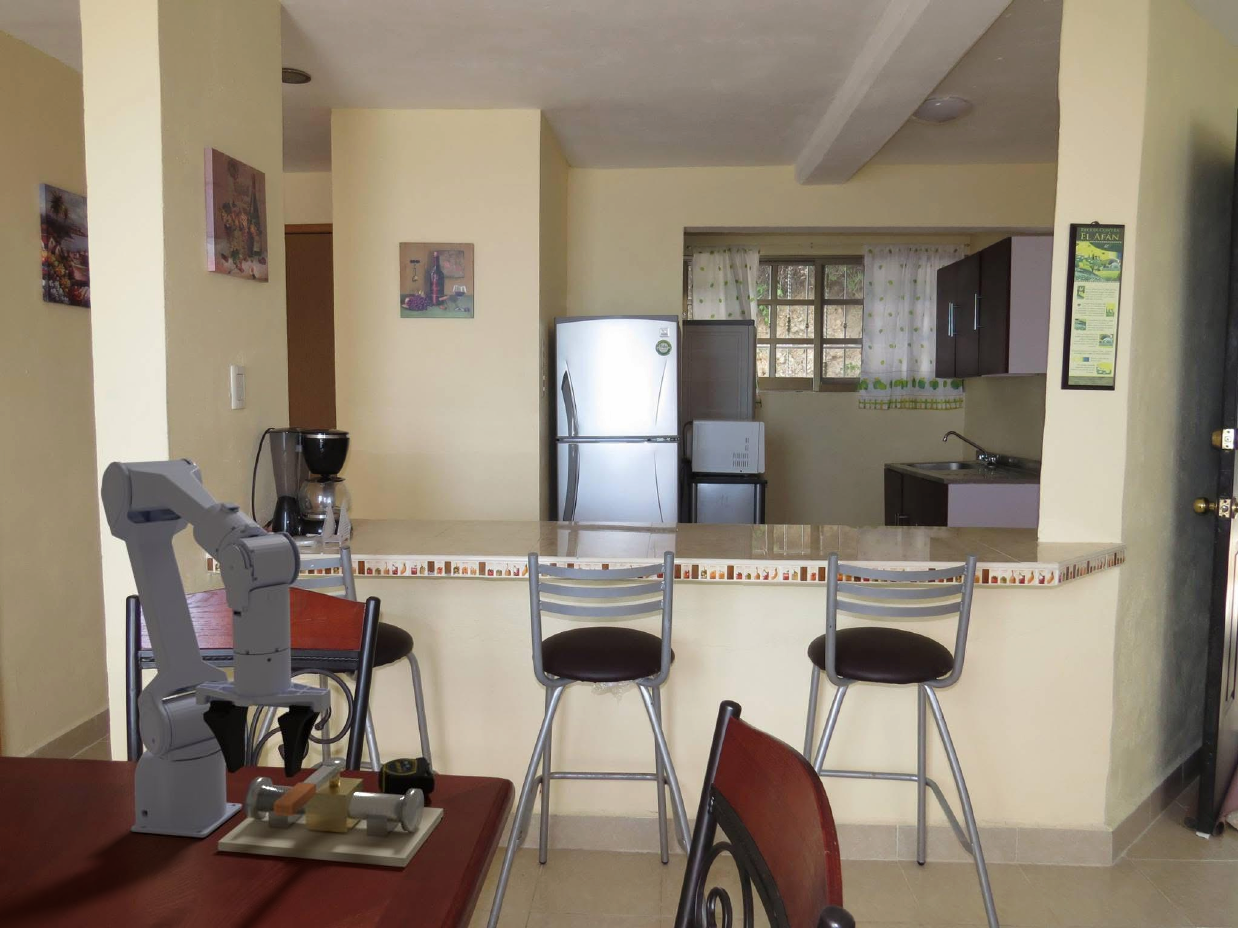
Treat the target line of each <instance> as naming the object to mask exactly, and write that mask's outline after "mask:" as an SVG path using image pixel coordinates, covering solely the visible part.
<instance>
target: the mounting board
mask: <svg viewBox="0 0 1238 928" xmlns="http://www.w3.org/2000/svg"><path fill="white" fill-rule="evenodd" d="M442 817H443V818H444V808H439V807H425V806H424V810H423V816H422V820H421V823H420V825H419V827H418V829H417V830H416V831H415V832H410V831H404V830H403V829H402V826H401V823H399V824H398V825H397V826H396V827H395V829H394V830H393V831H392V832H391V833H390V834H389V836H388V837H387V838H384V837H373V836H367V820H358V822H357V823H356V824H355V825H354V826H353V827H352V828H351V829H350V830H349V831H348V832H347V833H345V832H333V831H321V830H309V829H306V815H303V816H302V817H301V818H300V819H299V820H298V821H297V822H296V823H294V824H293V825H292V826H291V827H290V828H289V829H278V828H269V820H268V812H267V814H266V815H265V816H264V817H263V818H261V819H253V818H249V817H247V818H245V819H244V820H243V821H242V822H240V823H239V824H238V825H237V826H235V827H234V828H233V829H232V830H230V831H229V832H228V833H227V834H225V835H224V836H223V837H222V838H221V839H220V840H218V841H217V848H218V849H217V850H218V851H219V852H220V851H221V852H222V851H223V852H232V853H233V852H235V853H243V854H253V855H254V854H255V855H256V854H257V855H266V856H277V857H288V858H300V859H312V860H323V861H333V862H342V863H343V862H345V863H355V864H369V865H377V866H378V865H379V866H388V867H389V866H391V867H398V868H399V867H400V868H402V867H403V868H406V866H407V865H408V864H409V863H410V861H411V860H412V859H413V857H414V856H415V855H416V854H417V852H418V851H419V849H420V848H422V846H423V844H424V843H425V842H426V840H427V839H428V838H429V836H430V835H431V833H432V832H433V831H434V830H435V829H436V828H437V826H438V825H439V823H440V822H441V820H442V819H443V818H442ZM441 818H442V819H441Z"/></svg>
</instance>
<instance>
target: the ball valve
mask: <svg viewBox="0 0 1238 928" xmlns="http://www.w3.org/2000/svg"><path fill="white" fill-rule="evenodd" d="M293 787H294V786H288V785H278V784H277V785H275V784H273V781H272V779H271V778H270V777H266V776H264V777H263V776H257V777H255V778H254V779H252V780H251V782H250V783H249V785H248V788H247V789H246V793H245V796H244V803H243V805H244V807H243V809H244V812H245V816H246V817H247V818H248V817H249V818H253V819H261V818H263V817H264V816H265V815H266V814H267V812H268V820H269V828H278V829H289V828H290V827H291V826H292V825H293V824H294V823H296V822H297V821H298V820H299V819H300V818H301V817H302V816H303V815H306V829H309V830H321V831H333V832H345V833H347V832H348V831H349V830H350V829H351V828H352V827H353V826H354V825H355V824H356V823H357V822H358V820H367V836H373V837H384V838H387V837H388V836H389V834H390V833H391V832H392V831H393V830H394V829H395V827H396V826H397V825H398V824H399V823H401V826H402V829H403V830H404V831H410V832H415V831H416V830H417V829H418V827H419V825H420V823H421V820H422V816H423V810H424V807H425V795H423V792H422V790H421V789H412V788H411V789H409V790H408V791H407V793H406V795H394V794H382V793H381V792H380V793H378V792H367V791H364V778H353V777H352V778H351V777H341V772H340V773H336V774H335V775H334V776H332V777H331V778H330V779H329V780H328V781H327V782H326V783H325V784H323V785H322V786H321V787H320V788H319V789H318V790H317V791H316V795H315V796H314V797H313V798H311V799H310V800H309V801H308V802H307V803H306V804H305V805H304V806H302V807H301V808H300V809H299V810H298V811H297V812H296V813H295V814H293V815H292V816H287V815H275V814H274V803H275V802H276V801H277V800H278V799H279V798H281V797H282V796H283V795H284V794H285V793H287V792H288V791H289V790H290V789H291V788H293Z"/></svg>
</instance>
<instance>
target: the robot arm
mask: <svg viewBox="0 0 1238 928" xmlns="http://www.w3.org/2000/svg"><path fill="white" fill-rule="evenodd" d="M201 471H202V470H201V468H200V466H198V465H197V464H196V463H195V462H194V461H193V460H192V459H191V458H181V459H176V460H175V459H173V460H154V461H153V460H152V461H151V460H150V461H133V462H132V461H131V462H121V461H111V462H110V463H109V464H108V465H107V467H106V468H105V470H104V472H103V474H102V479H101V489H100V497H101V500H102V501H101V502H102V505H103V509H104V513H105V517H106V518H105V519H106V521H107V525H108V527H109V530H110V534H111V536H112V537H115V538H117V539H119V540H121V541H124V543H125V548H126V552H127V555H128V559H129V562H130V567H131V571H132V575H133V579H134V582H135V586H136V590H137V595H138V599H139V603H140V607H141V611H142V614H143V615H142V616H143V618H144V619H143V620H144V624H145V626H146V627H145V628H146V630H147V635H148V639H149V644H150V647H151V651H152V652H151V653H152V655H153V659H154V664H155V666H156V671H157V673H156V675H155V676H154V677H153V678H152V679H151V681H149V683H148V684H147V685H146V686H145V687H144V688H143V689H142V691H141V692H140V694H139V697H138V698H137V706H138V712H139V721H138V725H139V728H138V729H139V734H140V738H141V741H142V744H143V745H144V747H145V751H144V752H143V753H142V755H141V756H140V758H139V759H138V762H137V764H136V767H135V771H134V801H135V804H134V805H135V807H134V809H135V810H134V811H135V824H134V825H132V826H131V827H130V828H131V829H130V830H131V832H136V833H144V834H145V833H148V834H158V835H169V836H182V837H194V838H205V837H207V836H208V835H210V834H211V833H213V832H214V830H216V829H217V828H218V827H220V826H221V825H222V824H224V823H225V822H226V821H228V820H229V819H230V818H231V817H233V816H234V815H235V814H236V813H238V812H239V811H240V810H241V809H242V808H243V804H242V803H236V802H234V803H232V802H227V776H226V775H227V774H226V773H228V774H235V773H236V772H237V771H239V770H240V769H242V768H244V767H245V764H246V763H245V762H246V728H247V727H246V726H247V725H246V724H247V719H248V713H249V708H250V707H253V706H255V707H267V708H268V707H270V708H283V709H284V708H286V709H288V711H286V712H284V713H283V714H281V715H280V716H278V717H277V725H278V727H279V730H280V734H281V737H282V746H283V752H284V754H283V760H284V761H283V764H284V765H283V767H284V770H283V771H284V775H285V778H293V777H295V776H296V775H297V774H298V773H300V772H301V771H302V766H303V760H304V756H305V751H306V748H307V745H308V742H309V738H310V735H311V733H312V731H313V729H314V726H315V724H316V722H317V720H318V719H319V716H320V714H321V713H323V712H325V711H326V710H328V709H329V708H330V707H331V706H332V702H331V700H332V695H331V691H332V690H331V688H322V687H316V686H312V685H307V684H303V683H299V682H294V681H292V667H291V666H292V662H291V661H292V659H291V653H292V652H291V651H292V650H291V644H292V643H291V607H290V606H291V604H290V603H291V600H290V598H291V596H290V592H291V591H290V590H291V589H290V585H293V584H294V583H296V581H297V580H298V578H299V575H300V572H301V565H302V564H301V561H302V560H301V555H300V549H299V547H298V545H297V542H296V540H294V539H293V537H292V536H291V535H290V534H289V532H286V531H278V532H274V531H269V532H268V531H266V530H265V529H264V528H263V527H262V526H261V525H259V523H257V522H256V521H255V520H253V519H252V518H251V517H250V516H249V515H248V514H247V513H246V512H244V511H243V510H242V509H241V508H240V506H239V504H238V503H236V502H235V501H232V502H218V501H217V500H216V499H215V498H214V496H213V495H212V494H211V492H209V491H208V489H206V487H205V486H204V483H203V477H202V475H203V474H202V472H201ZM189 524H190V525H191V526H192V534H193V535H192V536H193V539H194V541H195V542H196V544H198V546H200V547H201V549H203V550H204V551H205V552H206V553H207V554H208V556H210V557H211V558H212V559H213V560H214V561H215V562H216V563H217V564H218V565H219V574H220V578H221V581H222V583H223V585H224V589H225V597H226V598H225V601H226V602H225V603H227V607H228V608H229V609H231V611H232V612H231V613H232V618H231V619H232V621H231V622H232V653H233V655H232V656H233V657H232V658H233V659H232V661H233V662H232V663H233V681H232V680H231V681H230V680H229V677H228V675H227V672H226V671H225V670H224V669H222V668H219V667H217V666H215V665H212V664H210V663H209V662H207V661H205V660H203V658H202V657H203V656H202V653H201V650H200V649H201V648H200V645H199V641H198V638H197V633H196V631H195V625H194V622H193V619H192V614H191V611H190V607H189V604H188V599H187V595H186V593H185V588H184V584H183V580H182V576H181V573H180V570H179V564H178V562H177V561H178V560H177V558H176V553H175V550H174V546H173V538H174V536H175V535H177V534H178V533H180V532H182V531H184V530H185V529H187V527H188V525H189ZM226 770H227V771H226Z"/></svg>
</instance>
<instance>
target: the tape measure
mask: <svg viewBox="0 0 1238 928" xmlns="http://www.w3.org/2000/svg"><path fill="white" fill-rule="evenodd" d="M430 764H431V763H430V762H428V759H427V758H426V757H424V756H420V757H416V758H410V757H409V758H407V757H404V758H403V757H401V758H396V759H392V760H390V761H387V762H385V763H384V764H383V765H382V766H381V767H380V770H379V772H378V777H377V779H378V780H377V783H378V784H377V786H378V790H379V791H380V793H381V794H394V795H406V793H407V791H408V790H409V789H411V788H412V789H421V790H422V792H423V795H424V796H429V795H430V794H432V793H433V792H434V791H435V786H436V784H435V777H434V774H433V773H432V771H431V769H430Z"/></svg>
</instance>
